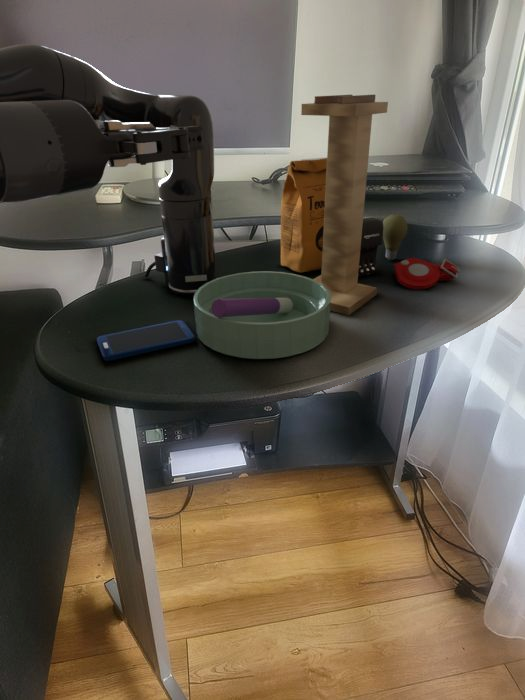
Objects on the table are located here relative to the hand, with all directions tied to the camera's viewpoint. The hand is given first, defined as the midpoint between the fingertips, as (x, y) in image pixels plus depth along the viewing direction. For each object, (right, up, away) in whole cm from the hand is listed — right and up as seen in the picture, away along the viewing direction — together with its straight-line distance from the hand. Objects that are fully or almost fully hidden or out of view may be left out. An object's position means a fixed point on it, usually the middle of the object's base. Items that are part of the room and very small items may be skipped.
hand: (172, 135), depth 52 cm
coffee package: (+20, -6, +52) cm, 56 cm away
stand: (+23, -13, +37) cm, 45 cm away
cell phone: (-8, -22, +22) cm, 32 cm away
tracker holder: (+42, -10, +43) cm, 61 cm away
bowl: (+10, -20, +26) cm, 34 cm away
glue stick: (+8, -18, +23) cm, 30 cm away
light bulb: (+38, -3, +55) cm, 67 cm away
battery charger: (+30, -8, +47) cm, 57 cm away
